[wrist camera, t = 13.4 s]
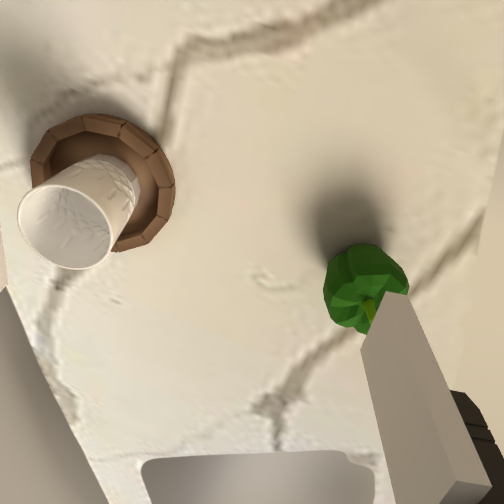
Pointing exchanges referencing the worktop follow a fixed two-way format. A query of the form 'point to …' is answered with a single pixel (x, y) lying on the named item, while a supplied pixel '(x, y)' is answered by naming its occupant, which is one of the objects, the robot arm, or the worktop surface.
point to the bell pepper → (361, 285)
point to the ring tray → (124, 148)
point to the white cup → (79, 211)
